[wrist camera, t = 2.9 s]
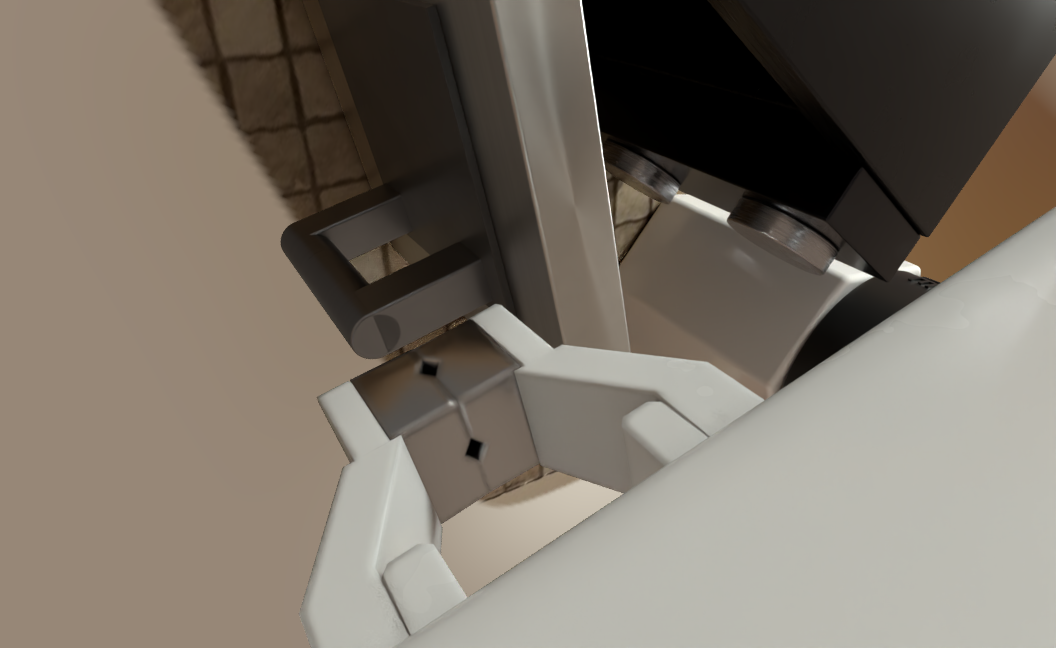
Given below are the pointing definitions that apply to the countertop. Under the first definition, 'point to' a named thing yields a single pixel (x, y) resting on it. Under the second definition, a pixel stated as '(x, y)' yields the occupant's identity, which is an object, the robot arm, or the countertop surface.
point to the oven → (813, 111)
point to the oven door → (465, 173)
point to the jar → (746, 299)
